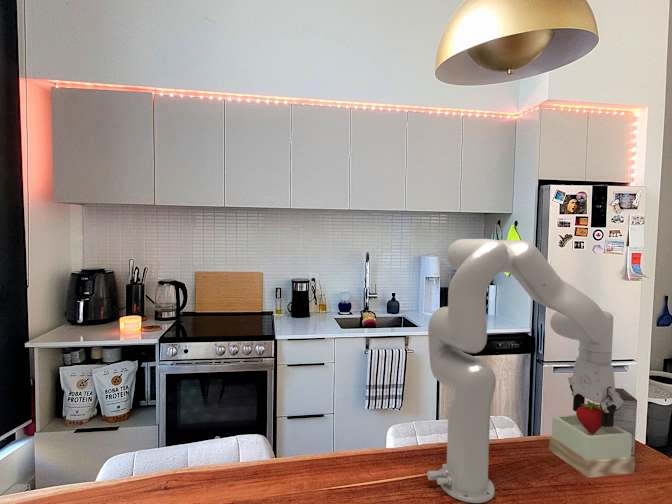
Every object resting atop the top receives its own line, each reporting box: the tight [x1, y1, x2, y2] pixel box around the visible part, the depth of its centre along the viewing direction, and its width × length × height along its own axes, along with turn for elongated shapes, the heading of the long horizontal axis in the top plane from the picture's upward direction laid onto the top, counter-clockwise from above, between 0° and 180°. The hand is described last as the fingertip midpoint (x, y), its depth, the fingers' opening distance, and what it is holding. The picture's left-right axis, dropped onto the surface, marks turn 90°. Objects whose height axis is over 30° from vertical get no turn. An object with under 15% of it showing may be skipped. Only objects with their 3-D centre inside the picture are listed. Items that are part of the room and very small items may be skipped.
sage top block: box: [551, 413, 632, 461], centre depth 111 cm, size 13×13×6 cm
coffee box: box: [599, 387, 638, 456], centre depth 119 cm, size 9×6×16 cm
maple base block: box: [548, 435, 636, 479], centre depth 111 cm, size 14×14×4 cm
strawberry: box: [575, 400, 604, 434], centre depth 111 cm, size 6×8×10 cm
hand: (592, 418), depth 111 cm, fingers open, 9 cm apart
